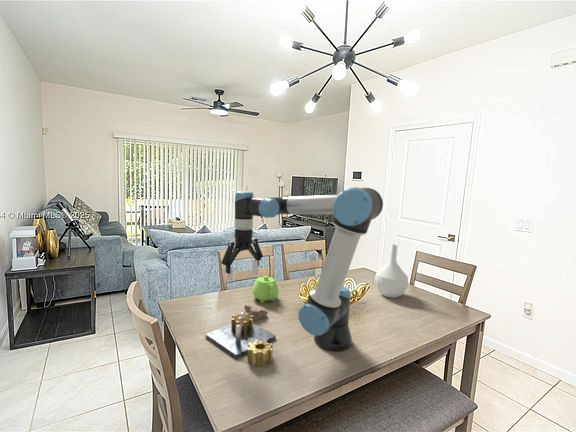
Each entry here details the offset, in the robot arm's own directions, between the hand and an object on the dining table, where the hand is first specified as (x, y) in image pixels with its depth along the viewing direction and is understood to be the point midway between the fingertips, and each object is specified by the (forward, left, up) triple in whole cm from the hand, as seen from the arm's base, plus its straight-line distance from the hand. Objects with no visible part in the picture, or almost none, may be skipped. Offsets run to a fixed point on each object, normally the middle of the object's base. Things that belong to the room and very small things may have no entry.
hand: (242, 277), depth 130 cm
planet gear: (-24, +11, -22) cm, 34 cm away
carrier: (-8, +7, -22) cm, 24 cm away
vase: (-29, -87, -22) cm, 95 cm away
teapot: (+15, -28, -22) cm, 39 cm away
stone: (+4, -11, -23) cm, 25 cm away
